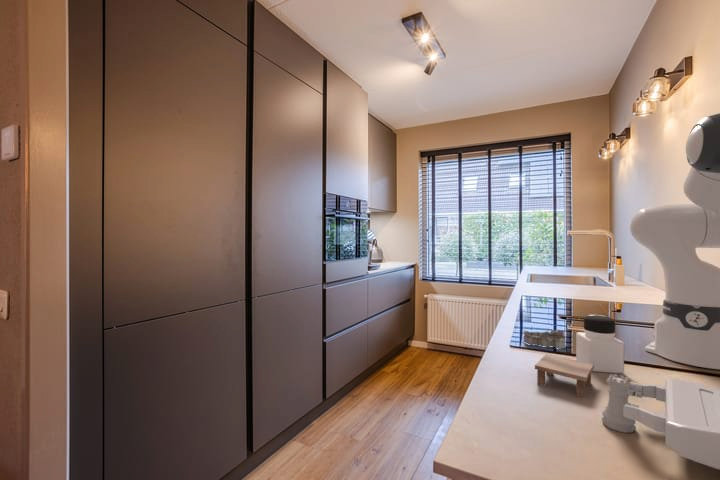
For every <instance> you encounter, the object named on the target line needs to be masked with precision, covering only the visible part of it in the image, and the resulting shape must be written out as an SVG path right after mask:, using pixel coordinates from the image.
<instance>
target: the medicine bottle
mask: <svg viewBox="0 0 720 480" xmlns="http://www.w3.org/2000/svg"><path fill="white" fill-rule="evenodd" d="M575 335H576V336H575V337H576V339H575V340H576V342H575V344H576V345H575V346H576V349H575V351H576V352H575V359H576V361H581V362H586V363H590V364H594V369H593V370H592V372H596V373H597V372H598V373H611V374H624V373H625V342H623V341H621V340H620V339H618V338H617V337H615V336H616V320H615V319H614V318H612V317H610V316H606V315H602V314H601V315H600V314H588V315H585V316H584V317H583V332H581V331H580V332H579V331H578V332H576V333H575Z"/></svg>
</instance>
